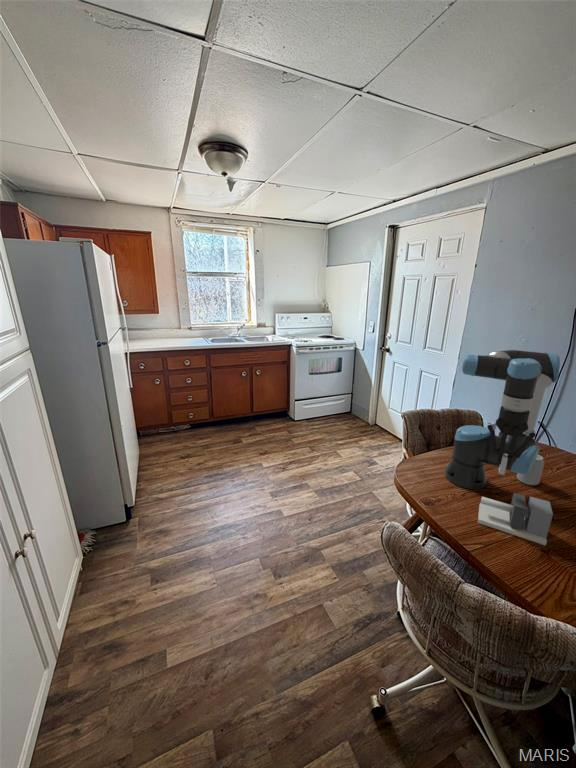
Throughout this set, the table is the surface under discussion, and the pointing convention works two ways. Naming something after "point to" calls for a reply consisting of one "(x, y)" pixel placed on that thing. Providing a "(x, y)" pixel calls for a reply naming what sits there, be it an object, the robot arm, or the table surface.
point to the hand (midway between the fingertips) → (501, 472)
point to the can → (533, 472)
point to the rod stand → (534, 520)
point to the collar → (518, 511)
